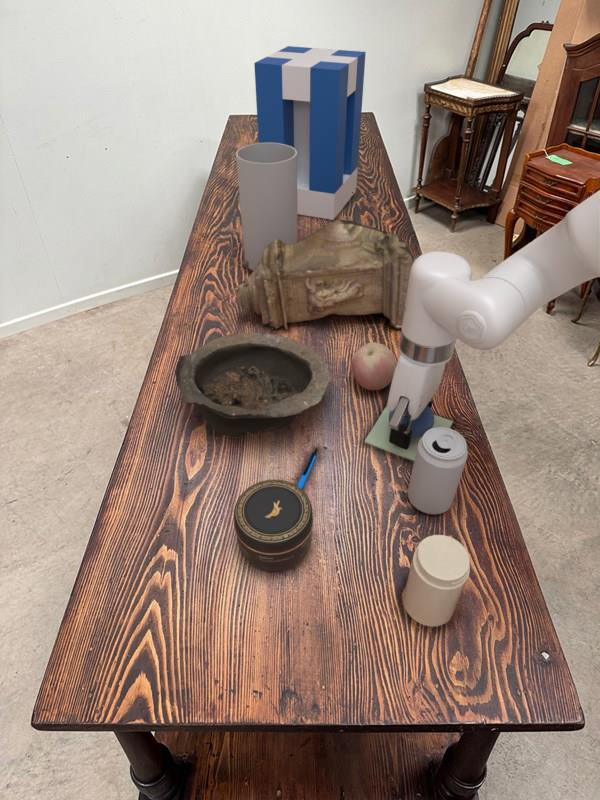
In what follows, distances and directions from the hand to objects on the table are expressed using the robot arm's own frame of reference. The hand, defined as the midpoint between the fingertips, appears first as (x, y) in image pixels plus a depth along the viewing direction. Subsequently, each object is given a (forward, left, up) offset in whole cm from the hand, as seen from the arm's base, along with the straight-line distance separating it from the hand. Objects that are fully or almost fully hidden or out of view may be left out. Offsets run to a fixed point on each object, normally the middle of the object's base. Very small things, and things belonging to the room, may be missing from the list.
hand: (409, 429), depth 86 cm
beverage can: (-7, +11, -1) cm, 13 cm away
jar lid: (0, 0, +3) cm, 3 cm away
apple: (+10, -8, -1) cm, 13 cm away
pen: (+10, +20, -1) cm, 22 cm away
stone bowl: (+25, +6, -1) cm, 26 cm away
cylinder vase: (+48, -37, -1) cm, 61 cm away
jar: (+9, +28, -1) cm, 29 cm away
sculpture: (+28, -25, -1) cm, 38 cm away
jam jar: (-12, +26, -1) cm, 29 cm away
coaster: (0, 0, -1) cm, 1 cm away
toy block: (+57, -74, -1) cm, 93 cm away
